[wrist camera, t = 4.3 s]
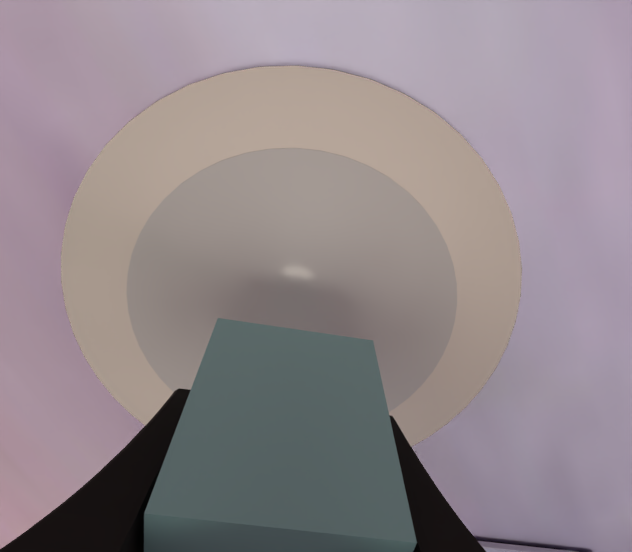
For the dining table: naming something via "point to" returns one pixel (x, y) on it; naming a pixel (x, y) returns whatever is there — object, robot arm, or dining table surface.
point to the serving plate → (293, 238)
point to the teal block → (282, 450)
